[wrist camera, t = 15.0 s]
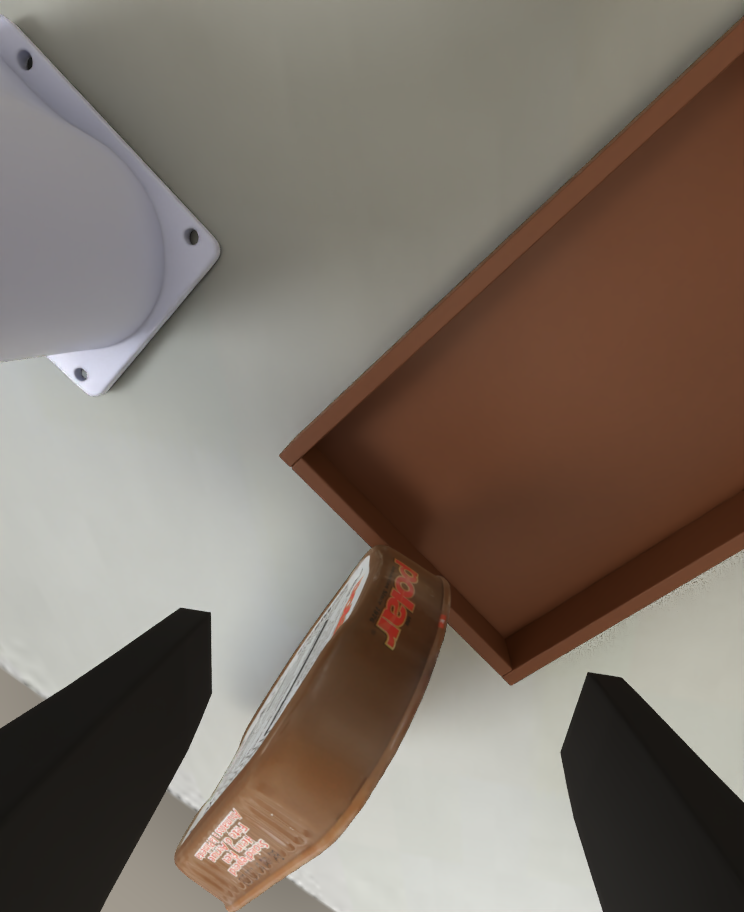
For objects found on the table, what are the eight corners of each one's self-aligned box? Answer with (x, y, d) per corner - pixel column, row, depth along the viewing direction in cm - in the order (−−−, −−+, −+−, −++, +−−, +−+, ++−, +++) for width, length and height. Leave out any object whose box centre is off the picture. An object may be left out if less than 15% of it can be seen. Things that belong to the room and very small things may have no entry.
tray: (293, 438, 18) (278, 456, 16) (758, 1, 13) (825, -57, 11) (501, 647, 20) (510, 686, 18) (970, 355, 15) (1059, 364, 13)
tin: (306, 721, 23) (216, 948, 16) (253, 690, 23) (139, 903, 16) (470, 533, 15) (441, 807, 8) (391, 486, 15) (292, 720, 8)
